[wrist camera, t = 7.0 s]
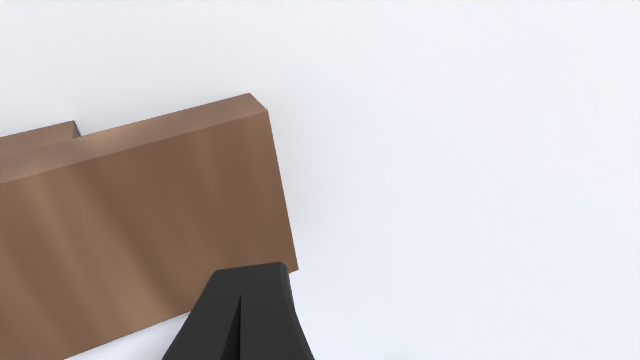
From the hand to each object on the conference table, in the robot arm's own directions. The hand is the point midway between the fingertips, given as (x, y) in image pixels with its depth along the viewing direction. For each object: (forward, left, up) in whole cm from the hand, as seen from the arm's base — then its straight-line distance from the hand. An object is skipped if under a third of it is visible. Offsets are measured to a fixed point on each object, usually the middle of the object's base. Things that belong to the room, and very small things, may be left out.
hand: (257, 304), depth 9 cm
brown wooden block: (0, 0, -5) cm, 5 cm away
